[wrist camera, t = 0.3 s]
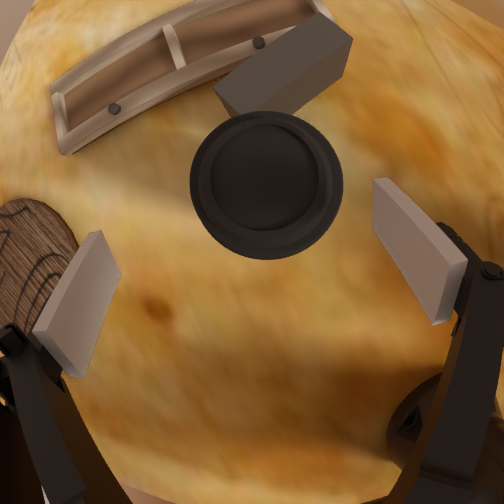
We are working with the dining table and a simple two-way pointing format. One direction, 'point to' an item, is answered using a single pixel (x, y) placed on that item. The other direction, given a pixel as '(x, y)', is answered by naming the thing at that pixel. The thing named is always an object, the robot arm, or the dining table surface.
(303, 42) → the picture frame
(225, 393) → the dining table surface
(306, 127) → the coffee cup
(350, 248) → the dining table surface
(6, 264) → the trivet
